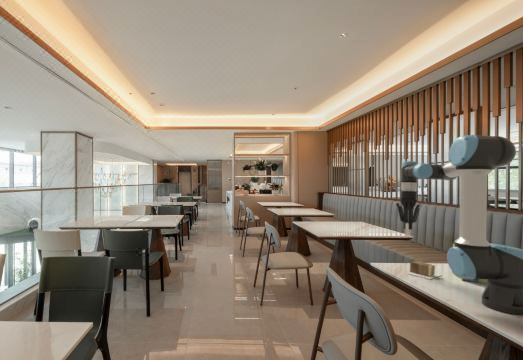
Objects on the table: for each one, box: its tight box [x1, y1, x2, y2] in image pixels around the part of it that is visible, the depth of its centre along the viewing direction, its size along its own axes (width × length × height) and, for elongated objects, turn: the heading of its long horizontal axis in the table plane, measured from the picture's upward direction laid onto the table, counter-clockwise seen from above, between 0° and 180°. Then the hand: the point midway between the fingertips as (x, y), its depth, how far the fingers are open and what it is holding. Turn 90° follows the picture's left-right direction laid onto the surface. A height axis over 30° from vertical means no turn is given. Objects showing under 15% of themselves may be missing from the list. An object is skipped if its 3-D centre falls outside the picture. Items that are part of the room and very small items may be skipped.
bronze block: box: [409, 260, 436, 277], centre depth 166 cm, size 5×5×10 cm
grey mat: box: [407, 272, 442, 280], centre depth 165 cm, size 12×11×1 cm
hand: (408, 235), depth 172 cm, fingers closed
